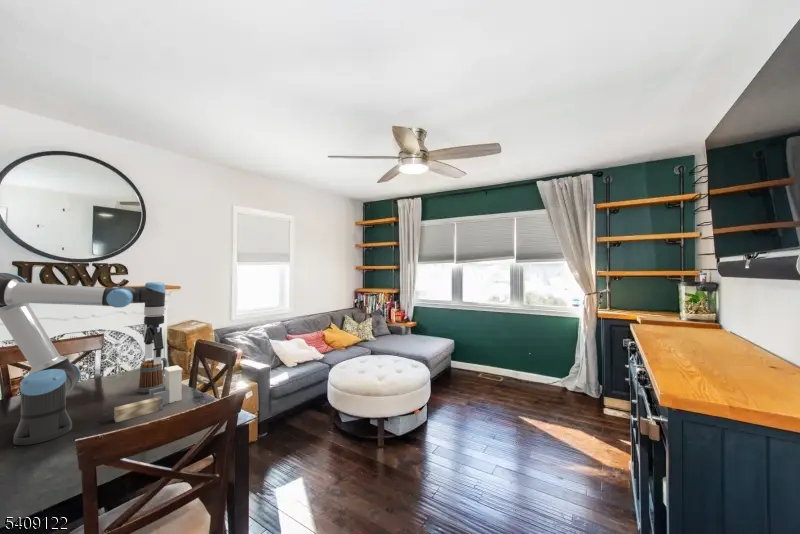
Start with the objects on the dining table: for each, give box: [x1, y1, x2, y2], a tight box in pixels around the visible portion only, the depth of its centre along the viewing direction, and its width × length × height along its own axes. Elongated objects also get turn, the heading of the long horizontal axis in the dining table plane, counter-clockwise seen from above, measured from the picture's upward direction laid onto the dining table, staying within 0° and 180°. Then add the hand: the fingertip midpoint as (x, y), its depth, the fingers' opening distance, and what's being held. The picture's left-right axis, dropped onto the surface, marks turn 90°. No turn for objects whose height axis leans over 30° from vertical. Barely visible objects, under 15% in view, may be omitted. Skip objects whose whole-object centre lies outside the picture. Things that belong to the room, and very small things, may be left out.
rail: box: [113, 396, 164, 423], centre depth 143 cm, size 16×4×5 cm, turn 138°
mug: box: [137, 357, 168, 395], centre depth 172 cm, size 16×11×15 cm
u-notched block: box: [148, 365, 184, 406], centre depth 157 cm, size 11×9×15 cm
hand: (152, 361), depth 152 cm, fingers open, 13 cm apart
